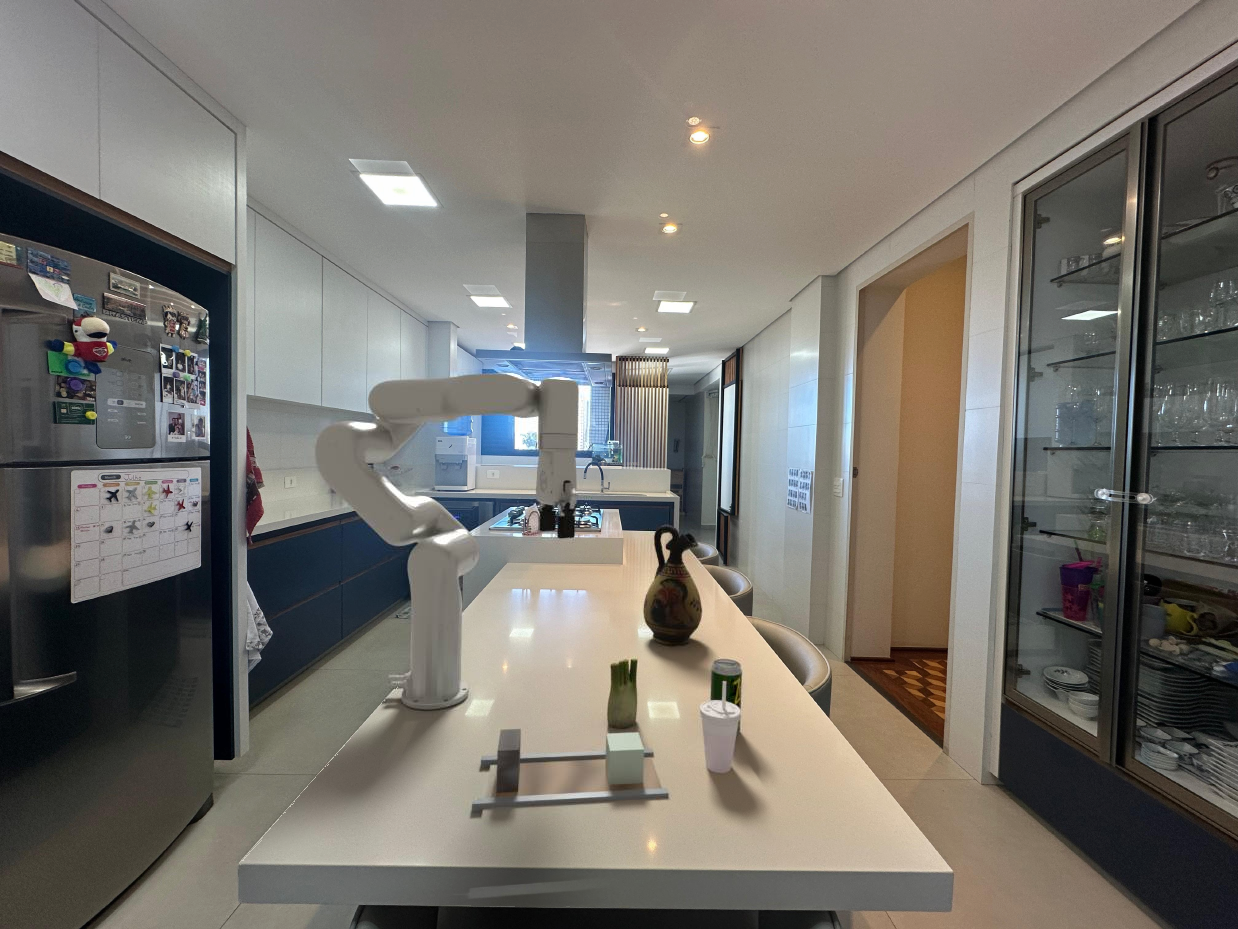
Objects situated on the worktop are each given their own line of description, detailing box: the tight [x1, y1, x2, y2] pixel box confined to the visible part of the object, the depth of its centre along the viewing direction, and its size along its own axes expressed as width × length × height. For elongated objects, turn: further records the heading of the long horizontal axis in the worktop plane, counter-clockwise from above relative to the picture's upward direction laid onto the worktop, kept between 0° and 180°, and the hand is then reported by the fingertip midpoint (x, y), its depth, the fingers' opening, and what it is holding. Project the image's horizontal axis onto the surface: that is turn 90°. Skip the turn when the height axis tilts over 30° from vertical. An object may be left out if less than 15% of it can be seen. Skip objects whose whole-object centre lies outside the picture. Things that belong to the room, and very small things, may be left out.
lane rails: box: [471, 747, 670, 813], centre depth 83 cm, size 27×12×1 cm, turn 98°
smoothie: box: [698, 681, 742, 774], centre depth 87 cm, size 6×6×14 cm
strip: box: [491, 728, 663, 798], centre depth 83 cm, size 24×9×7 cm, turn 98°
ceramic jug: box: [642, 524, 703, 647], centre depth 148 cm, size 17×15×30 cm
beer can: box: [709, 658, 743, 736], centre depth 100 cm, size 5×5×12 cm
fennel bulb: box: [606, 658, 638, 729], centre depth 100 cm, size 6×5×12 cm
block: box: [605, 731, 645, 785], centre depth 84 cm, size 5×5×5 cm
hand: (556, 534), depth 107 cm, fingers open, 9 cm apart
